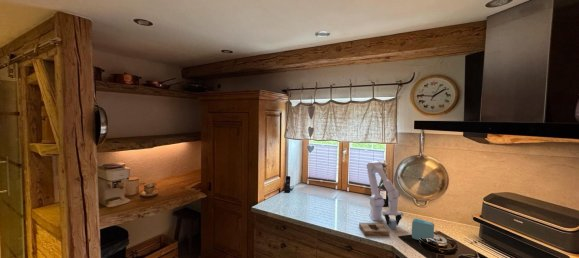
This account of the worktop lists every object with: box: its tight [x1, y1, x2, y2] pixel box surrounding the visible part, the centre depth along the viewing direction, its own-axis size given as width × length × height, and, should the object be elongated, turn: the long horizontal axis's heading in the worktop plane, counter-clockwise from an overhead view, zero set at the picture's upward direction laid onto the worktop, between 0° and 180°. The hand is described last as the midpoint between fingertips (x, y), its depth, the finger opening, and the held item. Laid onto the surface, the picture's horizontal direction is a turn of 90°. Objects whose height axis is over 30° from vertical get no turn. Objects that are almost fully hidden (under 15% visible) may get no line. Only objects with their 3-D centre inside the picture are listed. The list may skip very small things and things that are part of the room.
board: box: [358, 222, 390, 237], centre depth 158 cm, size 12×16×3 cm
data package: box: [411, 218, 435, 241], centre depth 149 cm, size 12×4×12 cm, turn 55°
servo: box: [388, 218, 399, 230], centre depth 165 cm, size 9×4×6 cm, turn 1°
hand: (392, 225), depth 165 cm, fingers open, 6 cm apart
